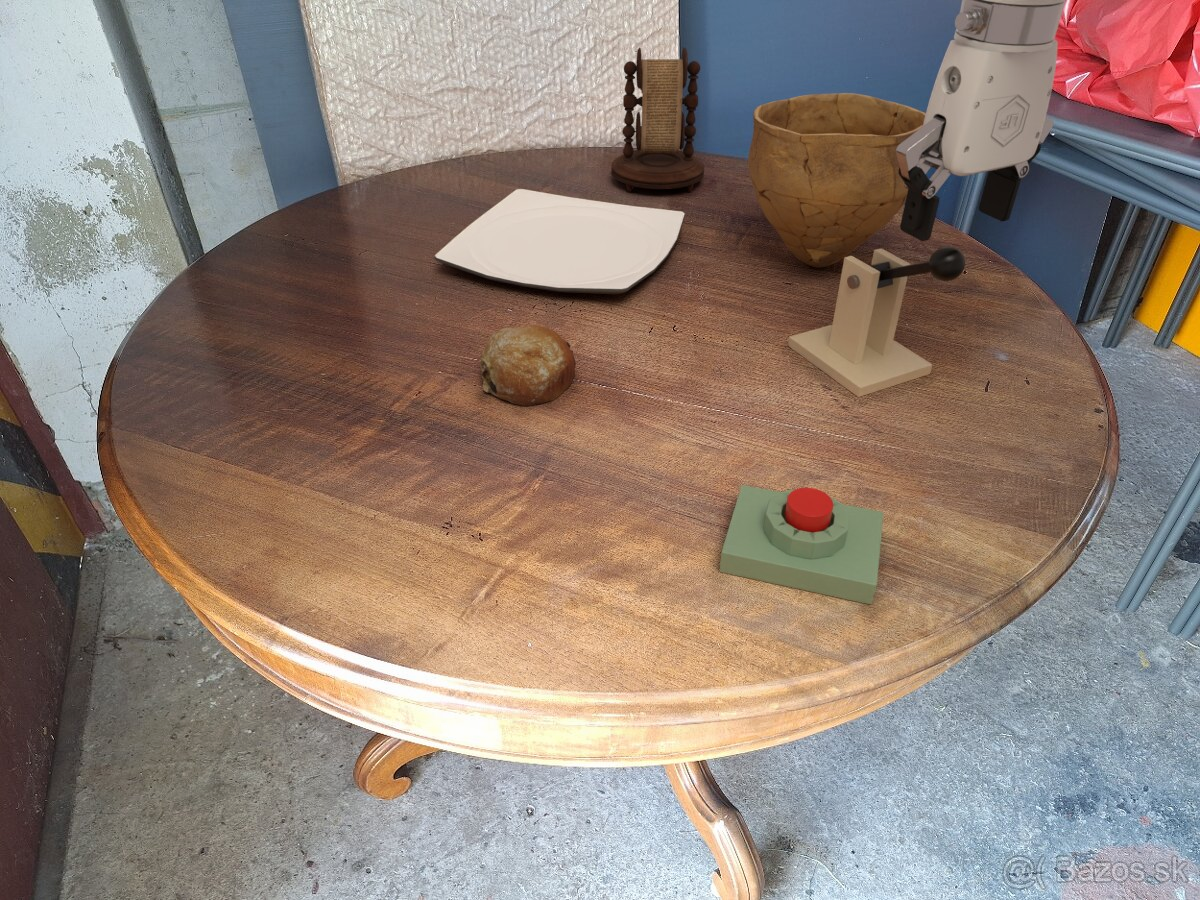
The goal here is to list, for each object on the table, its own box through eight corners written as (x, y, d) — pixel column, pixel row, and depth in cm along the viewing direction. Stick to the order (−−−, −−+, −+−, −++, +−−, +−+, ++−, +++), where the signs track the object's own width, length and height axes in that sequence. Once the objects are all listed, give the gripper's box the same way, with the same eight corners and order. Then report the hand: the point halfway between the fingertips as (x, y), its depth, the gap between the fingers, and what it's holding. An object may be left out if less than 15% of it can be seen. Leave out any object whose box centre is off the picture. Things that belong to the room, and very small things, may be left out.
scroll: (613, 198, 137) (615, 60, 125) (609, 166, 149) (610, 36, 137) (709, 198, 138) (720, 60, 126) (697, 165, 149) (706, 36, 137)
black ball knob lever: (975, 275, 83) (969, 240, 83) (950, 282, 82) (944, 247, 81) (879, 290, 95) (873, 260, 94) (855, 296, 94) (850, 266, 93)
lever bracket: (930, 374, 96) (956, 273, 89) (858, 397, 93) (879, 294, 86) (856, 326, 105) (875, 230, 98) (787, 345, 101) (801, 248, 94)
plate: (632, 316, 107) (632, 296, 105) (420, 278, 115) (418, 259, 113) (695, 227, 128) (697, 210, 127) (514, 201, 136) (513, 184, 135)
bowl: (725, 288, 113) (740, 127, 101) (750, 227, 128) (766, 81, 116) (895, 311, 108) (932, 144, 96) (900, 245, 124) (932, 95, 112)
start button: (832, 508, 73) (835, 492, 72) (827, 537, 70) (831, 520, 69) (787, 500, 74) (790, 483, 73) (781, 527, 71) (784, 511, 70)
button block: (878, 531, 76) (888, 494, 74) (871, 605, 69) (881, 567, 67) (739, 503, 79) (743, 467, 77) (718, 572, 72) (723, 535, 70)
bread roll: (479, 400, 98) (447, 354, 92) (542, 337, 101) (515, 288, 95) (536, 439, 93) (506, 392, 86) (602, 371, 95) (577, 321, 89)
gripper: (962, 43, 66) (912, 259, 76) (1120, 21, 72) (1053, 223, 82) (892, 23, 71) (853, 227, 81) (1044, 4, 77) (991, 195, 88)
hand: (954, 225), depth 82 cm, fingers open, 9 cm apart
